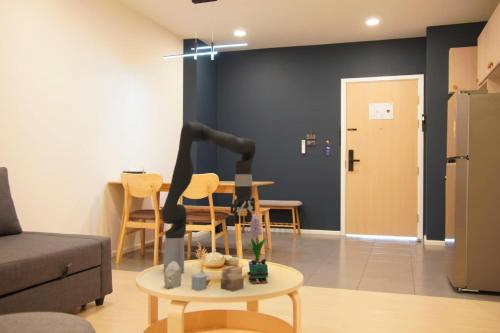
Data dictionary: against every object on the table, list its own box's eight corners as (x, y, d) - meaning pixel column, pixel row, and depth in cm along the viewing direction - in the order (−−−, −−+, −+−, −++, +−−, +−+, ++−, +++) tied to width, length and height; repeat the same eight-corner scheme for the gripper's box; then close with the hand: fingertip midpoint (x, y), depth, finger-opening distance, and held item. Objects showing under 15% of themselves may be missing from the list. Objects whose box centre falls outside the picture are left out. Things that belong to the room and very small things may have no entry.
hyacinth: (272, 276, 209) (272, 213, 209) (257, 280, 201) (257, 215, 202) (258, 273, 215) (258, 212, 215) (243, 277, 207) (243, 213, 208)
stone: (170, 289, 186) (170, 265, 186) (161, 288, 188) (161, 263, 188) (183, 284, 194) (183, 260, 194) (175, 283, 196) (175, 259, 196)
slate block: (191, 289, 187) (191, 276, 187) (199, 286, 191) (199, 274, 191) (198, 291, 184) (198, 278, 184) (206, 288, 188) (206, 275, 188)
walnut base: (220, 288, 188) (220, 278, 188) (231, 285, 194) (231, 275, 194) (232, 291, 184) (232, 281, 184) (243, 288, 189) (243, 278, 189)
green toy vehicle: (263, 257, 207) (269, 259, 197) (263, 280, 206) (270, 283, 196) (244, 258, 204) (250, 260, 195) (245, 281, 203) (251, 284, 194)
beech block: (222, 278, 189) (222, 267, 189) (231, 275, 193) (231, 265, 193) (232, 280, 185) (232, 270, 185) (241, 277, 189) (242, 267, 189)
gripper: (246, 184, 195) (246, 220, 195) (226, 185, 184) (225, 223, 184) (260, 184, 191) (259, 221, 191) (240, 185, 179) (239, 225, 179)
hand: (242, 222), depth 187 cm, fingers open, 8 cm apart
